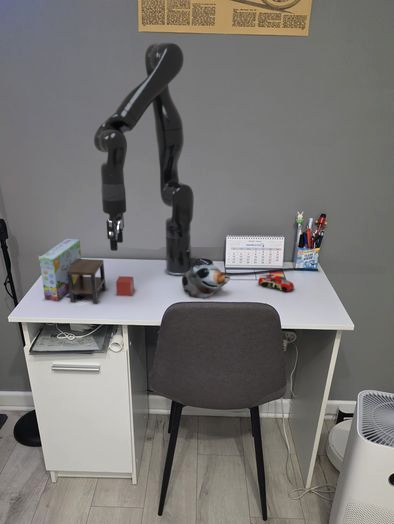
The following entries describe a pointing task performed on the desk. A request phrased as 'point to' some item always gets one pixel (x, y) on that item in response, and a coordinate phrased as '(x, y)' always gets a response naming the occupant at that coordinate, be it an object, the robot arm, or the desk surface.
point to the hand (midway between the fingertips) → (117, 246)
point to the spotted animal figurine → (203, 281)
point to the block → (125, 285)
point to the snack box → (59, 268)
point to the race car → (275, 282)
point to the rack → (86, 278)
